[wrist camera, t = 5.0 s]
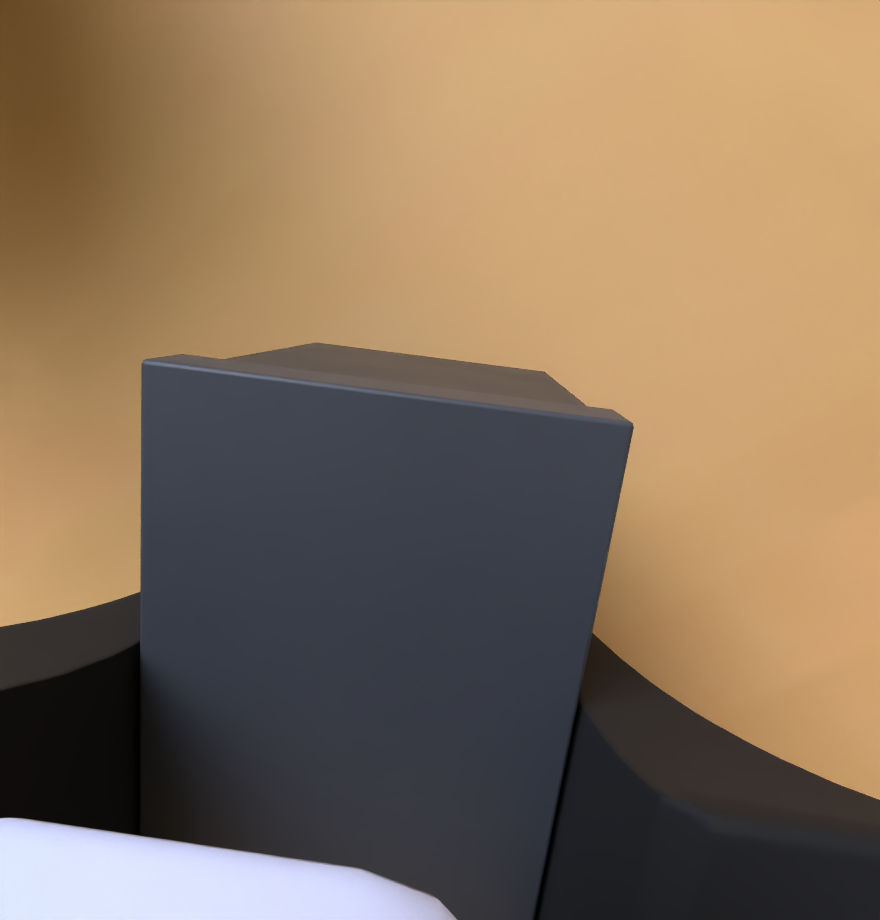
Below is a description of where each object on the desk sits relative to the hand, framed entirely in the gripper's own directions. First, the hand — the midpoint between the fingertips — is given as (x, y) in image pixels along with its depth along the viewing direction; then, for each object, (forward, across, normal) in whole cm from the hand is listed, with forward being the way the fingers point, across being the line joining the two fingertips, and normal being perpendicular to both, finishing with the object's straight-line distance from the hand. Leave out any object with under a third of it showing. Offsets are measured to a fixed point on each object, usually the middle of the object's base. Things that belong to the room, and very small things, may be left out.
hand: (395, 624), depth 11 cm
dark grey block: (+1, 0, 0) cm, 1 cm away
